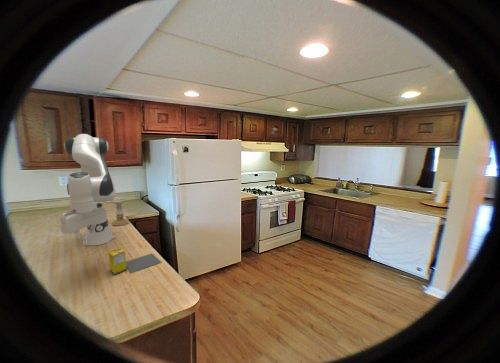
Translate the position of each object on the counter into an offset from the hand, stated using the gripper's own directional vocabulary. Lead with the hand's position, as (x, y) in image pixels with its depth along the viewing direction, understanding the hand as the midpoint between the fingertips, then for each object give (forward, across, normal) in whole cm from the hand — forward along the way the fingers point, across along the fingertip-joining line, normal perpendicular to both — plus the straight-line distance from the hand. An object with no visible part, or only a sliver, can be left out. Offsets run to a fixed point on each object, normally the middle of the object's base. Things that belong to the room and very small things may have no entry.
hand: (86, 235), depth 106 cm
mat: (+23, +19, -14) cm, 33 cm away
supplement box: (+23, +10, -7) cm, 26 cm away
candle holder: (+23, +73, +44) cm, 88 cm away
